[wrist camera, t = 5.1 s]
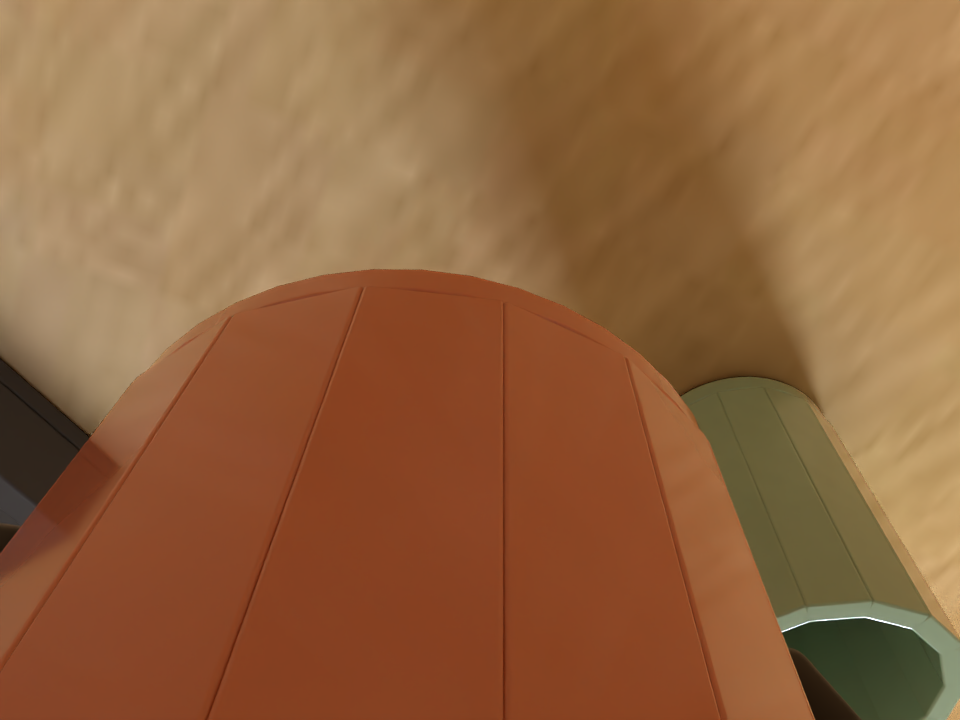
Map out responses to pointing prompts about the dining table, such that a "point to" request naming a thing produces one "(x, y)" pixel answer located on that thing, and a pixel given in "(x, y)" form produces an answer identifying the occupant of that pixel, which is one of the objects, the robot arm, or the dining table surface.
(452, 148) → the dining table surface
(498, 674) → the big cup
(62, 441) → the tray
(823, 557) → the small cup
